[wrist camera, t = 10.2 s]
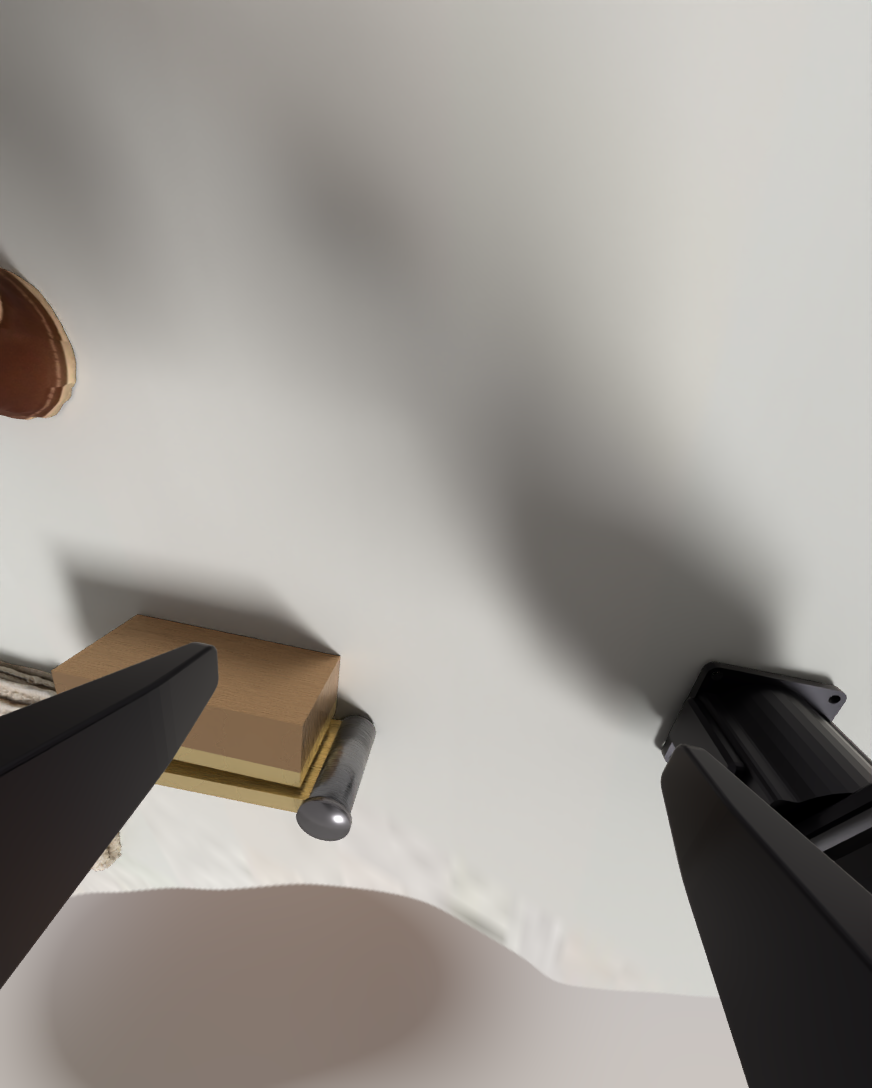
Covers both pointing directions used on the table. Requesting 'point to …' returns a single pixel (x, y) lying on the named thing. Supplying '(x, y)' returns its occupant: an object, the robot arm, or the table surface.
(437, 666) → the table surface
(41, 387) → the brown rounded piece
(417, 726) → the table surface
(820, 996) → the robot arm
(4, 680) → the washcloth
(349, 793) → the swing leaf
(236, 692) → the block
